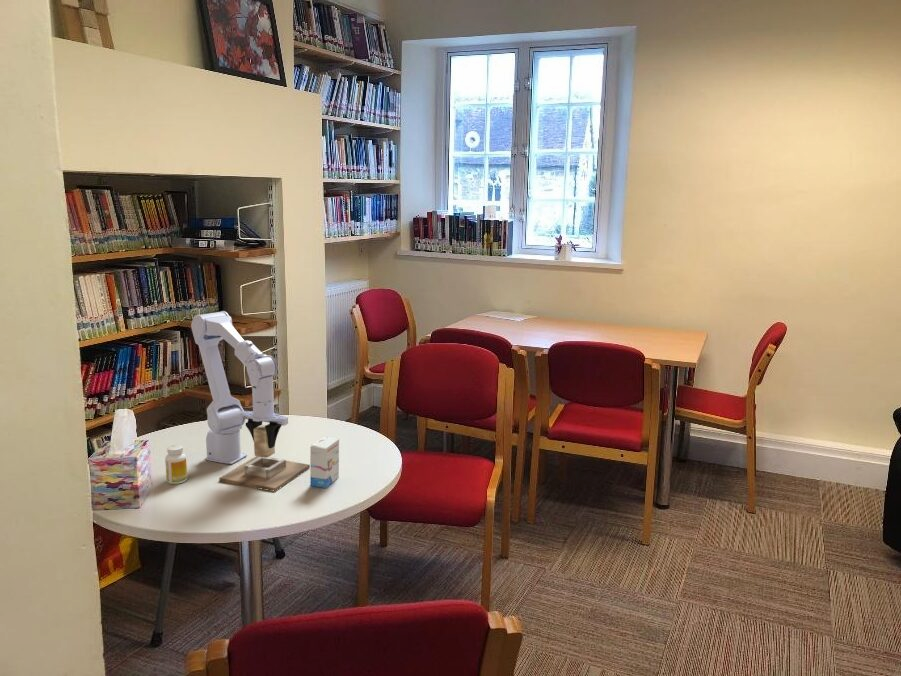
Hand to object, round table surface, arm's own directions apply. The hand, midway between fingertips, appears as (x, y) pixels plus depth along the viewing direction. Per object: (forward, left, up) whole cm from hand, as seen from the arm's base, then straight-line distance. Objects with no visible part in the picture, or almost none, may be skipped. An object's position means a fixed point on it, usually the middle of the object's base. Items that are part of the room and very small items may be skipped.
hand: (264, 446), depth 207 cm
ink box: (+18, +2, -9) cm, 20 cm away
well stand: (0, 0, -8) cm, 8 cm away
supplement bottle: (-20, -13, -9) cm, 25 cm away
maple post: (0, 0, -2) cm, 3 cm away
